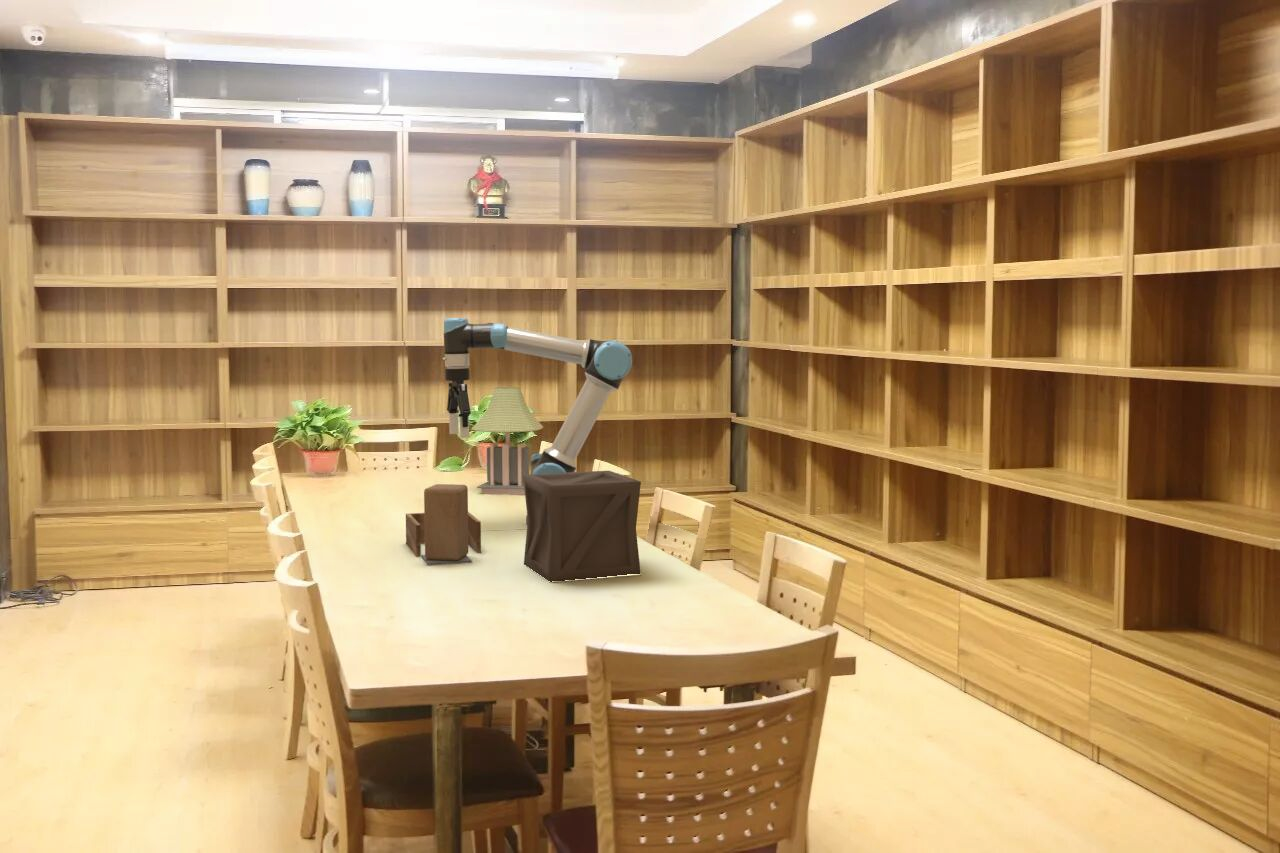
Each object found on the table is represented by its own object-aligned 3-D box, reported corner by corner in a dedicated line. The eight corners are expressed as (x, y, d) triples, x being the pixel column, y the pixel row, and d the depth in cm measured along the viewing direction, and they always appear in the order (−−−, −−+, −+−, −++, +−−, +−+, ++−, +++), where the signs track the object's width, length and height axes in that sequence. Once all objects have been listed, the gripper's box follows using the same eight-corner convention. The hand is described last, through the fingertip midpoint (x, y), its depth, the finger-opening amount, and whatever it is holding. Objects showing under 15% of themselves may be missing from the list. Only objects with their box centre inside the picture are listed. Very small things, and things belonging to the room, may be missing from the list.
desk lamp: (465, 496, 469) (463, 389, 466) (486, 486, 497) (485, 385, 493) (531, 498, 465) (530, 390, 461) (549, 487, 493) (548, 385, 489)
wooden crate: (609, 559, 351) (608, 470, 349) (641, 575, 328) (640, 480, 326) (523, 566, 342) (522, 474, 340) (550, 583, 319) (549, 484, 317)
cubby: (467, 540, 379) (467, 510, 378) (481, 552, 359) (480, 521, 358) (406, 543, 373) (405, 513, 372) (416, 556, 353) (416, 525, 352)
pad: (463, 554, 356) (463, 552, 356) (471, 562, 345) (471, 560, 345) (421, 557, 352) (421, 554, 352) (427, 565, 341) (427, 563, 341)
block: (459, 561, 343) (458, 489, 341) (424, 560, 345) (422, 488, 343) (469, 554, 353) (468, 484, 351) (435, 553, 355) (434, 483, 353)
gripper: (436, 366, 398) (438, 433, 400) (455, 369, 375) (457, 440, 377) (459, 365, 401) (461, 431, 403) (479, 368, 378) (481, 438, 380)
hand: (459, 435), depth 390 cm, fingers open, 13 cm apart
